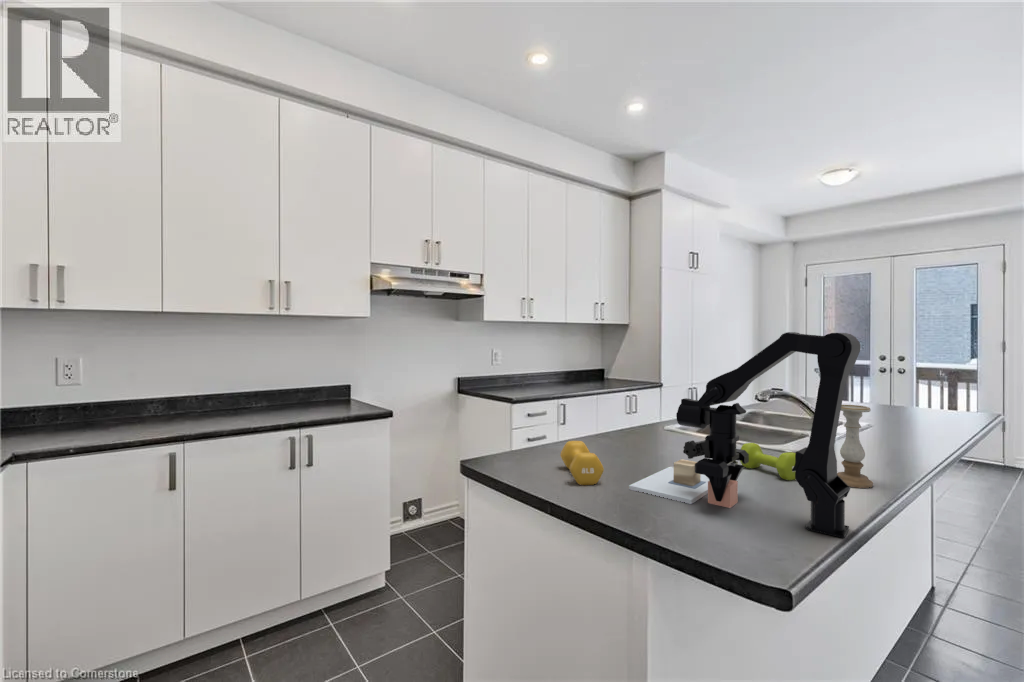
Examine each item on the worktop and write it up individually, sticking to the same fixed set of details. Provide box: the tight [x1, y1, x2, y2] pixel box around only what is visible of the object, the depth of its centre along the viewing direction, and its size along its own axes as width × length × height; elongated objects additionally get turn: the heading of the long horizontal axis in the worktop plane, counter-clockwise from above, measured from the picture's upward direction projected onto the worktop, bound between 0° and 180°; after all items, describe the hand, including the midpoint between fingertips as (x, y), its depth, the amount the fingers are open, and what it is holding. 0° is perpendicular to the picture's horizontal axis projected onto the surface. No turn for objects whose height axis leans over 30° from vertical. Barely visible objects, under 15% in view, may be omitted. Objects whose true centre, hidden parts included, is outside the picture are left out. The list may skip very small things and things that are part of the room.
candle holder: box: [837, 404, 874, 489], centre depth 126 cm, size 9×9×20 cm
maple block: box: [673, 458, 701, 486], centre depth 123 cm, size 5×5×5 cm
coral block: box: [707, 480, 739, 509], centre depth 112 cm, size 5×5×5 cm
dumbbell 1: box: [560, 440, 605, 486], centre depth 134 cm, size 19×9×8 cm, turn 3°
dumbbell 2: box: [739, 442, 796, 481], centre depth 136 cm, size 16×8×7 cm, turn 22°
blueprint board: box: [628, 466, 710, 505], centre depth 125 cm, size 24×16×1 cm, turn 137°
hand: (722, 498), depth 112 cm, fingers closed on coral block, 5 cm apart
